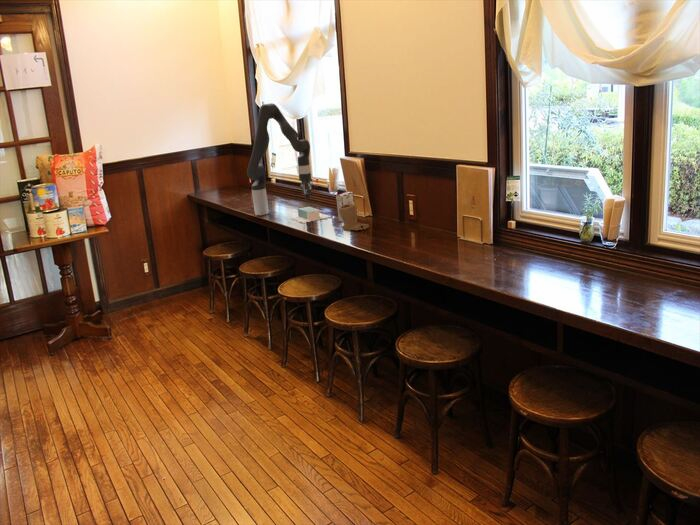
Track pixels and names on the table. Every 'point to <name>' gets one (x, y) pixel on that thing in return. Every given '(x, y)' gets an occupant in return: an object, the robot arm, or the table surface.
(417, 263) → the table surface
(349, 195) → the candy bar box
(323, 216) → the mat
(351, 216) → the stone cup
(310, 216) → the teal block
